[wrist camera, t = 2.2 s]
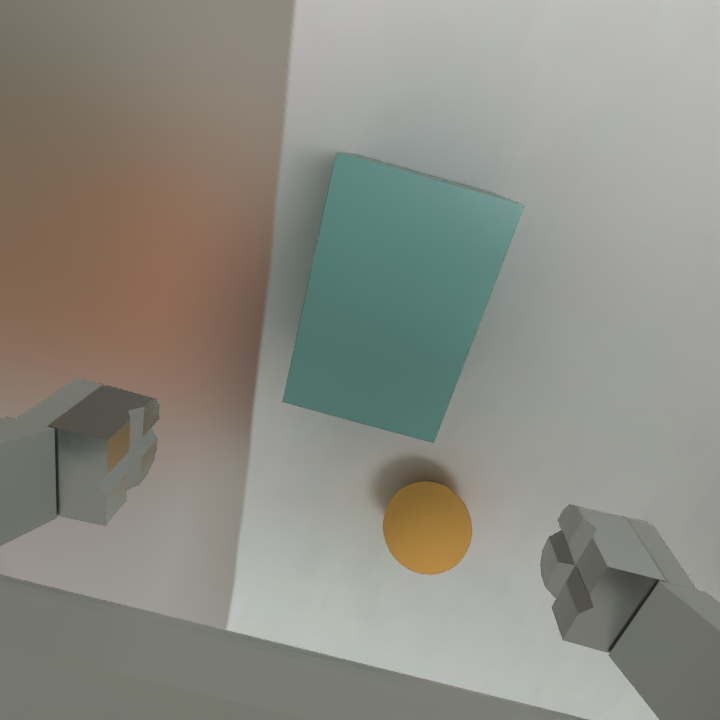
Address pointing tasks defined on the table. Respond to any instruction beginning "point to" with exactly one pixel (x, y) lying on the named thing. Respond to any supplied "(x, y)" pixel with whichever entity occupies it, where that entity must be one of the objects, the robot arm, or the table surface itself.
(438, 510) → the ball
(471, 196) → the teal rectangular box
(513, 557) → the table surface
